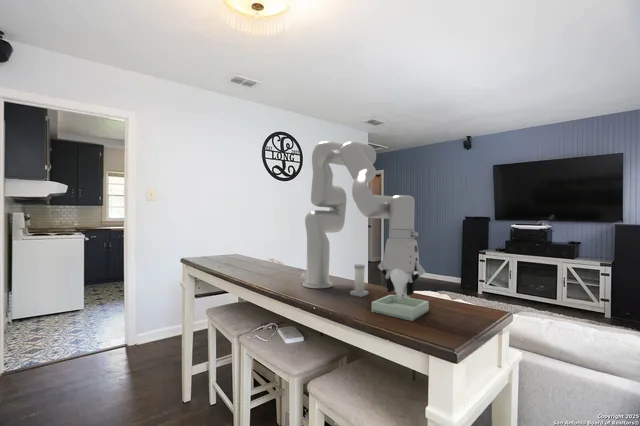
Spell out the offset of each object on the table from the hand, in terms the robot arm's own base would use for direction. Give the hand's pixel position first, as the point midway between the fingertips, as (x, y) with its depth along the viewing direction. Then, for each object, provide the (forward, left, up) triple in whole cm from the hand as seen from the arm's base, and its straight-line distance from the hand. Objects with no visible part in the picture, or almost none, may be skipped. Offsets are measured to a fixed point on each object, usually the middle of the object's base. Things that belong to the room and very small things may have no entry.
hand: (400, 292), depth 99 cm
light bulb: (0, 0, -3) cm, 3 cm away
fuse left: (-21, +10, -6) cm, 24 cm away
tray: (0, 0, -6) cm, 6 cm away
